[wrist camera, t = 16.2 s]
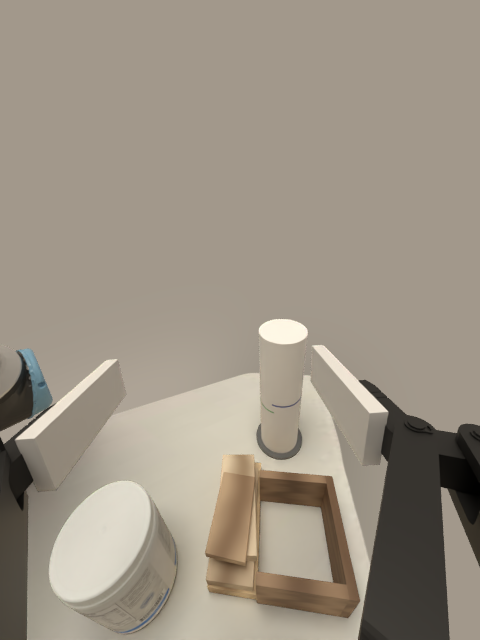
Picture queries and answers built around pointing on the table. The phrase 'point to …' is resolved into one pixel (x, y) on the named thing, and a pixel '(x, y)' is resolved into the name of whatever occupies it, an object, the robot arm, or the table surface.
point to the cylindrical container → (281, 381)
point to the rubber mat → (279, 455)
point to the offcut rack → (243, 540)
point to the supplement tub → (115, 558)
